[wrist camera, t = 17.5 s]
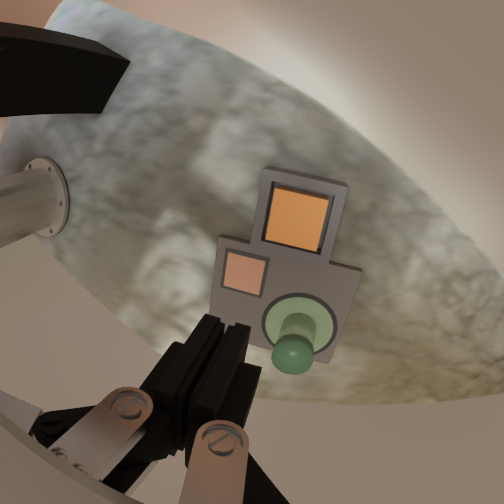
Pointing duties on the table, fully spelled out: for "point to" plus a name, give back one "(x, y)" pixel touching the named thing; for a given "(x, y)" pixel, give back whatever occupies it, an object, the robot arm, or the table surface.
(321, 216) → the button
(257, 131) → the table surface
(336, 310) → the colouring board
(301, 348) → the green capped cylinder
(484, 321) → the table surface
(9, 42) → the tissue box
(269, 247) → the button housing
